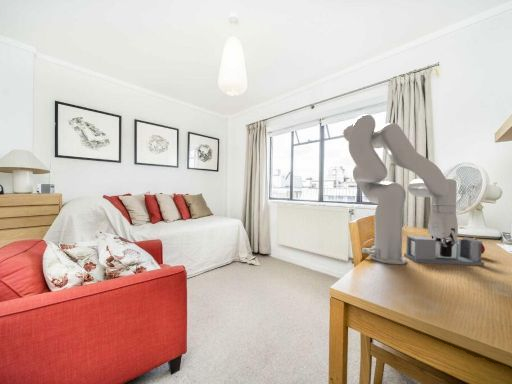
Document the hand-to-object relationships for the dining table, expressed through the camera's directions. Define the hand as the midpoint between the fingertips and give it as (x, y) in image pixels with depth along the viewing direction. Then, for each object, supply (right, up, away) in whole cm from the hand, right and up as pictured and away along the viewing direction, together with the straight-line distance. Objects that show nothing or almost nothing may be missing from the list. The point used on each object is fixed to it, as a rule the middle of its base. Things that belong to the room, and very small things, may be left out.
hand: (442, 254), depth 86 cm
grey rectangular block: (-3, -1, 0) cm, 3 cm away
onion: (+19, -3, +6) cm, 20 cm away
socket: (+10, -1, -1) cm, 10 cm away
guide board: (0, -2, 0) cm, 2 cm away
